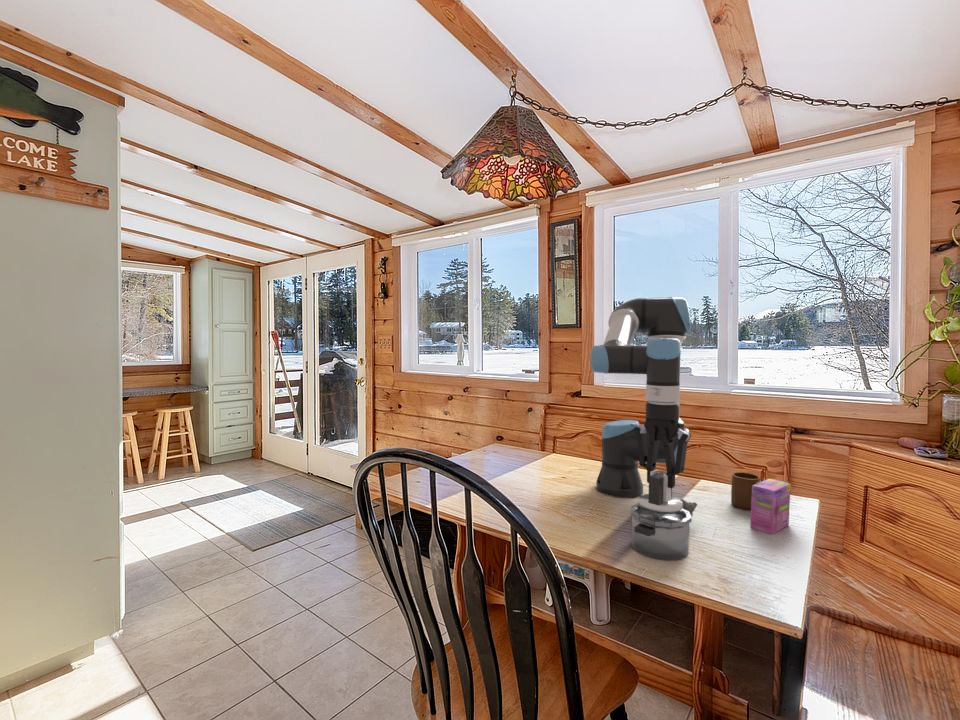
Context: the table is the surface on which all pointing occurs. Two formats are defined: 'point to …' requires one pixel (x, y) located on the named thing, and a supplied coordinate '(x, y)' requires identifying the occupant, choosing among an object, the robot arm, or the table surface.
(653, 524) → the pot
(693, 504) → the fossil
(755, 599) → the table surface
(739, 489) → the mug
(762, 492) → the box
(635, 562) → the table surface
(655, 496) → the lid
